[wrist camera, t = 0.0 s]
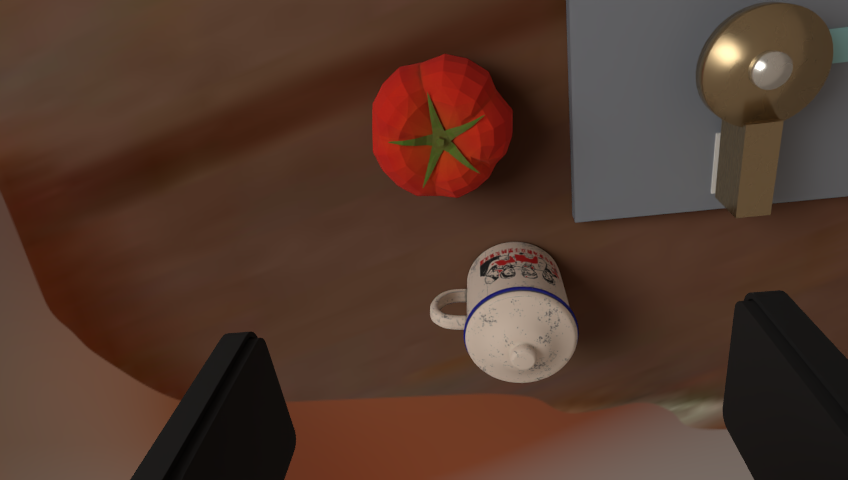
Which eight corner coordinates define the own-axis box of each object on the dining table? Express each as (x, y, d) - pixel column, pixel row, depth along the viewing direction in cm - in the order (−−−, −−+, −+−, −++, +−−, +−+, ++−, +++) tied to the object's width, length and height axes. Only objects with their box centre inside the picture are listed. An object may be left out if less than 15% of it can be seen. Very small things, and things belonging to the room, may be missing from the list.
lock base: (563, -102, 39) (572, -108, 35) (950, -168, 36) (1003, -181, 32) (572, 215, 49) (580, 235, 46) (872, 185, 46) (905, 205, 43)
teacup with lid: (567, 238, 50) (593, 312, 40) (558, 322, 55) (578, 409, 44) (433, 235, 51) (424, 307, 41) (434, 318, 55) (425, 403, 45)
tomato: (380, 176, 49) (365, 211, 42) (379, 43, 44) (363, 59, 37) (503, 182, 49) (508, 219, 42) (516, 49, 44) (525, 66, 37)
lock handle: (689, 8, 39) (712, 14, 35) (814, -9, 38) (851, -5, 34) (678, 200, 46) (696, 222, 42) (784, 190, 45) (813, 212, 41)
